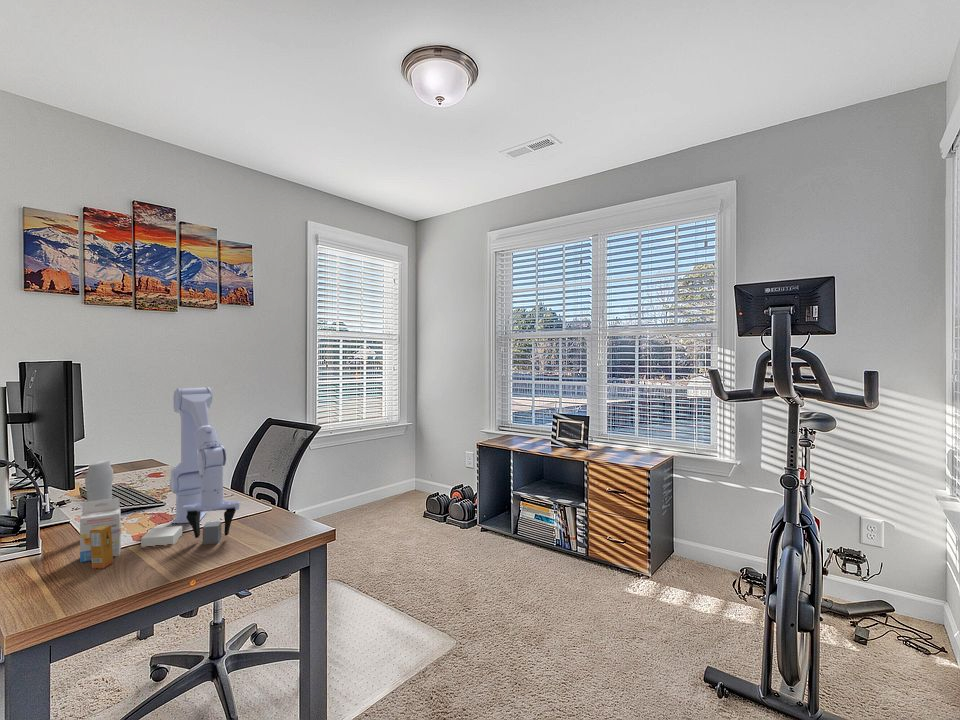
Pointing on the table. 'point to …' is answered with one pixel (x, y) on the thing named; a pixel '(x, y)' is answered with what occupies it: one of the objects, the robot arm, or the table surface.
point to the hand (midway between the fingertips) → (212, 535)
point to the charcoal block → (212, 532)
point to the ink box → (100, 524)
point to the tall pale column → (99, 482)
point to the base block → (161, 536)
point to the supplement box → (101, 546)
